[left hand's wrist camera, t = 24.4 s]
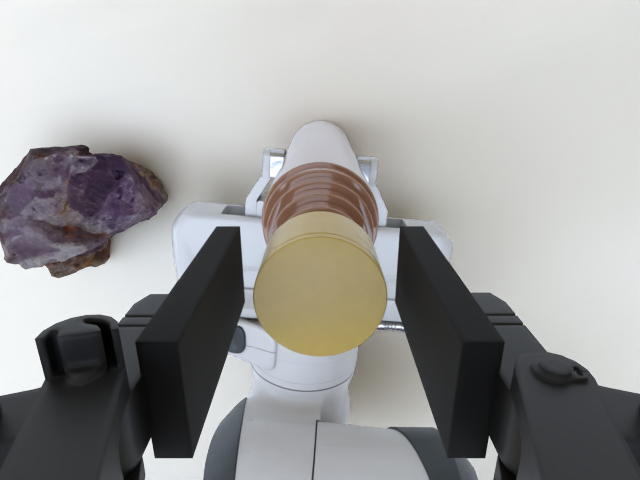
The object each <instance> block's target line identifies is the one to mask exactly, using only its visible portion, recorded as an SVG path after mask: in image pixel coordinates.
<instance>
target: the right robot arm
mask: <svg viewBox="0 0 640 480" xmlns="http://www.w3.org/2000/svg"><path fill="white" fill-rule="evenodd" d="M285 154H286V149H276V148H265V149H264V153H263V169H262V174H261V176H260V178H259V179H258V181H257V182H256V184H255V185H254V187H253V188H252V190H251V192H250V193H249V195H248V196H247V198H246V201H245V206H244V205H231V204H219V203H206V202H193V203H191V204H190V205H188V206H187V207H186V208H185V209H183V210H182V211H181V212H180V214H179V215H178V216H177V217H176V219H175V220H174V222H173V226H172V244H173V254H174V262H175V269H176V274H177V280H179V279H180V277H181V276H182V274H183V273H184V272H185V270H186V269H187V267H188V266H189V265H190V263H191V262H192V260H193V259H194V257H195V256H196V255H197V253H198V252H199V250H200V249H201V248H202V246H203V245H204V243H205V242H206V240H207V239H208V238H209V236H210V235H211V233H212V232H213V230H214V229H215V228H216V226H240V233H241V248H242V263H243V277H244V292H245V304H244V307H243V310H242V313H241V316H240V319H239V322H238V325H237V327H236V330H235V333H234V336H233V339H232V342H231V345H230V348H229V351H228V354H230V355H233V356H235V357H238V358H240V359H242V360H244V361H247V362H249V363H251V367H252V370H253V375H254V382H253V385H252V387H251V390H250V394H249V398H247V397H246V398H245V399H243V400H242V401H241V402H239V403H238V404H237V405H236V406H235V407H234V408H233V409H232V411H231V412H230V413H229V414H228V415H227V416H226V417H225V418H224V419H223V420H222V422H221V423H220V424H219V426H218V428H217V429H216V431H215V433H214V435H213V438H212V440H211V443H210V447H209V450H208V454H207V458H206V463H205V470H204V479H203V480H478V479H477V475H476V472H475V470H474V468H473V466H472V465H471V464H470V462H469V461H468V460H467V458H447V455H446V452H445V449H444V446H443V443H442V440H441V437H440V434H439V432H438V430H437V429H435V428H432V427H389V428H377V427H368V426H358V425H348V420H349V413H350V395H349V391H348V386H349V383H350V381H351V379H352V377H353V375H354V372H355V368H356V362H357V354H358V347H359V346H357V347H355V348H353V349H351V350H349V351H347V352H344V353H341V354H337V355H331V356H309V355H304V354H300V353H297V352H294V351H291V350H289V349H287V348H285V347H283V346H282V345H280V344H279V343H277V342H276V341H275V340H274V339H272V338H271V337H270V336H269V335H268V333H267V332H266V331H265V330H264V328H263V327H262V325H261V324H260V322H259V320H258V318H257V315H256V312H255V308H254V303H253V289H254V284H255V280H256V277H257V274H258V271H259V268H260V264H261V261H262V258H263V255H264V252H265V249H266V246H267V245H266V242H265V239H264V235H263V229H262V219H261V216H262V208H263V203H264V200H265V198H266V195H267V194H261V193H262V191H263V190H264V188H265V187H266V185H267V184H268V182H269V181H270V179H271V177H275V176H276V174H277V171H278V169H279V167H280V165H281V163H282V161H283V158H284V156H285ZM356 158H357V160H358V162H359V164H360V166H361V169H362V171H363V173H364V175H365V177H366V179H367V181H368V184H369V186H370V188H371V190H372V192H373V194H374V197H375V199H376V202H377V206H378V212H379V225H378V232H377V237H376V240H375V243H374V248H375V251H376V254H377V257H378V260H379V263H380V266H381V269H382V272H383V275H384V278H385V282H386V286H387V306H386V310H385V313H384V316H383V319H382V321H381V323H380V325H379V326H378V327H377V329H376V330H375V331H398V332H400V333H405V330H404V327H403V325H402V322H401V319H400V316H399V313H398V310H397V307H396V304H395V292H396V277H397V262H398V247H399V232H400V226H424V228H425V229H426V230H427V232H428V233H429V235H430V236H431V238H432V239H433V240H434V242H435V243H436V245H437V246H438V248H439V249H440V250H441V252H442V253H443V255H444V256H445V257H446V259H447V260H448V262H450V258H451V254H452V243H451V240H450V238H449V237H448V235H447V234H446V232H445V231H444V230H443V229H442V228H441V226H440V225H439V224H438V223H436V222H434V221H428V220H416V219H403V218H391V217H387V214H388V210H387V208H386V205H385V203H384V201H383V198H382V196H381V194H380V191H379V189H378V187H377V185H376V178H377V171H378V159H377V157H370V156H356Z"/></svg>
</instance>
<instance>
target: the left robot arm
mask: <svg viewBox="0 0 640 480" xmlns="http://www.w3.org/2000/svg"><path fill="white" fill-rule="evenodd" d="M244 304H245V292H244V277H243V263H242V248H241V233H240V226H216V228H215V229H214V230H213V232H212V233H211V235H210V236H209V238H208V239H207V240H206V242H205V243H204V245H203V246H202V248H201V249H200V250H199V252H198V253H197V255H196V256H195V257H194V259H193V260H192V262H191V263H190V265H189V266H188V267H187V269H186V270H185V272H184V273H183V274H182V276H181V277H180V279H179V280H178V282H177V283H176V284H175V286H174V287H173V289H172V290H171V292H170V293H169V294H150V295H148V296H147V297H145V298H143V299H142V300H140V301H138V302H137V303H135V304H134V305H133V306H132V308H131V309H130V310H129V311H128V312H127V314H126V315H125V317H123V318H122V320H121V321H120V322H119V323H118V322H117V321H116V320H115V319H113V318H112V317H109V316H104V315H84V316H79V317H74V318H70V319H67V320H64V321H62V322H59V323H56V324H54V325H52V326H51V327H49V328H47V329H46V330H44V331H42V332H41V333H40V335H39V336H38V337H37V338H36V339H35V341H36V345H37V349H38V353H39V356H40V360H41V364H42V368H43V372H44V375H45V381H44V383H43V385H42V387H41V388H37V389H33V390H28V391H23V392H18V393H13V394H8V395H3V396H0V480H145V469H144V463H143V457H142V455H143V453H144V451H145V449H146V447H147V445H148V443H149V440H150V438H152V444H153V450H154V456H155V458H193V455H194V452H195V449H196V446H197V443H198V440H199V437H200V434H201V431H202V429H203V426H204V423H205V420H206V417H207V414H208V411H209V408H210V405H211V402H212V399H213V396H214V393H215V390H216V387H217V384H218V381H219V378H220V375H221V372H222V369H223V366H224V363H225V360H226V357H227V354H228V351H229V348H230V345H231V342H232V339H233V336H234V333H235V330H236V327H237V325H238V322H239V319H240V316H241V313H242V310H243V307H244ZM395 304H396V307H397V310H398V313H399V316H400V319H401V322H402V325H403V327H404V330H405V333H406V336H407V339H408V342H409V345H410V348H411V351H412V354H413V357H414V360H415V363H416V366H417V369H418V372H419V375H420V378H421V381H422V384H423V387H424V390H425V393H426V396H427V399H428V402H429V405H430V408H431V411H432V414H433V417H434V420H435V423H436V426H437V429H438V432H439V434H440V437H441V440H442V443H443V446H444V449H445V452H446V455H447V458H485V456H486V450H487V444H488V438H489V436H490V438H491V440H492V442H493V444H494V447H495V449H496V451H497V453H498V457H497V463H496V468H495V474H494V479H493V480H640V394H637V393H632V392H627V391H622V390H617V389H612V388H607V387H603V386H599V385H598V384H597V382H596V380H595V378H594V377H593V376H592V375H591V374H590V372H589V371H588V370H587V369H586V368H584V367H583V366H581V365H580V364H578V363H577V362H575V361H573V360H571V359H568V358H566V357H564V356H561V355H557V354H553V353H549V352H547V351H546V350H545V349H544V348H543V347H542V345H541V344H540V343H539V342H538V341H537V339H536V338H535V337H534V336H533V335H532V333H531V332H530V331H529V330H528V329H527V327H526V326H525V325H523V323H522V321H521V320H520V319H519V318H518V317H517V316H515V313H514V312H513V311H512V309H511V308H510V307H509V306H508V305H507V303H506V302H504V301H503V300H501V299H499V298H498V297H496V296H494V295H493V294H491V293H470V292H469V290H468V289H467V287H466V286H465V284H464V283H463V282H462V280H461V279H460V277H459V276H458V274H457V273H456V272H455V270H454V269H453V267H452V266H451V265H450V263H449V262H448V260H447V259H446V257H445V256H444V255H443V253H442V252H441V250H440V249H439V248H438V246H437V245H436V243H435V242H434V240H433V239H432V238H431V236H430V235H429V233H428V232H427V230H426V229H425V228H424V226H400V232H399V247H398V262H397V277H396V292H395Z"/></svg>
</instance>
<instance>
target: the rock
mask: <svg viewBox="0 0 640 480" xmlns="http://www.w3.org/2000/svg"><path fill="white" fill-rule="evenodd" d="M167 199H168V196H167V194H166V192H165V190H164V188H163V185H162V183H161V182H160V180H159V179H158V178H157V177H156V176H155V175H154V174H153V173H152V172H151V171H150V170H148V169H145V168H143V167H142V166H140V165H138V164H135V163H133V162H130V161H127V160H126V159H125V158H123V157H122V156H119V155H114V154H93V155H92V154H91V153H89V148H88V147H87V146H85V145H78V146H68V147H49V148H36V149H30V151H29V153H28V154H27V155H26V156H25V157H24V158H23V160H22V161H21V163H20V164H19V165H18V167H17V168H15V169H14V170H13V172H12V173H11V174H10V175H9V176H8V177H7V179H6V180H5V181H4V182H2V184H1V185H0V241H1V245H2V248H3V251H4V255H5V257H4V260H5V261H6V262H7V263H11V264H20V265H21V267H22V268H24V269H29V268H35V267H43V266H44V265H45V266H46V267H47V268H48V269H49V271H50V273H51V276H53V277H56V278H60V277H64V276H67V275H70V274H73V273H75V272H77V271H79V270H81V269H83V268H85V267H89V266H93V267H97V266H99V265H101V264H104V263H105V262H106V261H107V260H108V259H109V257H110V252H109V250H110V239H109V238H111V237H112V236H113V235H115V234H116V233H120V232H123V231H125V230H126V229H128V228H130V227H131V226H133V225H135V224H137V223H139V222H142V221H145V220H149V219H150V218H151V217H153V216H154V215H156V213H157V210H158V209H160V208H161V207H162V206H163V204H164V203H165V202H166V201H167Z"/></svg>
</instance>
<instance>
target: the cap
mask: <svg viewBox="0 0 640 480" xmlns="http://www.w3.org/2000/svg"><path fill="white" fill-rule="evenodd" d="M253 303H254V308H255V312H256V315H257V318H258V320H259V322H260V324H261V325H262V327H263V328H264V330H265V331H266V332H267V333H268V335H269V336H270V337H271V338H272V339H274V340H275V341H276V342H277V343H279V344H280V345H282V346H283V347H285V348H287V349H289V350H291V351H294V352H297V353H300V354H304V355H309V356H331V355H337V354H341V353H344V352H347V351H349V350H351V349H353V348H355V347H357V346H359V345H360V344H362V343H363V342H364V341H366V340H367V339H368V338H369V337H370V336H371V335H372V334H373V333H374V332H375V330H376V329H377V327H378V326H379V325H380V323H381V321H382V319H383V316H384V313H385V310H386V306H387V286H386V282H385V278H384V275H383V272H382V269H381V266H380V263H379V260H378V257H377V254H376V251H375V248H374V245H373V243H372V241H371V239H370V238H369V236H368V234H367V233H366V232H365V231H364V230H363V229H362V228H361V227H360V226H359V225H358V224H357V223H355V222H354V221H353V220H351V219H349V218H347V217H345V216H342V215H340V214H336V213H332V212H325V211H315V212H308V213H304V214H301V215H298V216H296V217H293V218H291V219H290V220H288V221H286V222H285V223H284V224H282V225H281V226H280V227H279V228H278V229H277V230H276V231H275V232H274V234H273V235H272V236H271V238H270V240H269V242H268V244H267V246H266V249H265V252H264V255H263V258H262V261H261V264H260V268H259V271H258V274H257V277H256V280H255V284H254V289H253Z"/></svg>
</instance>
